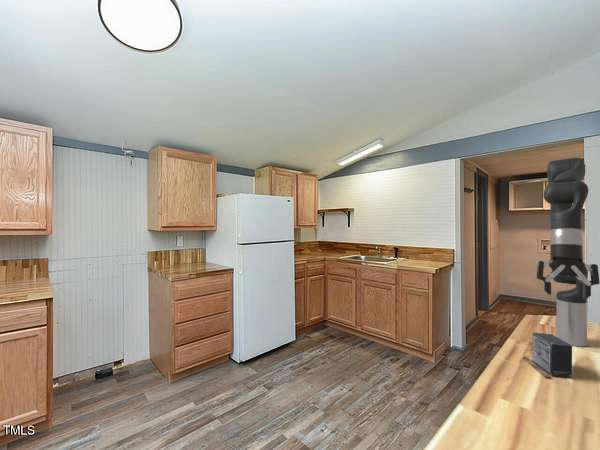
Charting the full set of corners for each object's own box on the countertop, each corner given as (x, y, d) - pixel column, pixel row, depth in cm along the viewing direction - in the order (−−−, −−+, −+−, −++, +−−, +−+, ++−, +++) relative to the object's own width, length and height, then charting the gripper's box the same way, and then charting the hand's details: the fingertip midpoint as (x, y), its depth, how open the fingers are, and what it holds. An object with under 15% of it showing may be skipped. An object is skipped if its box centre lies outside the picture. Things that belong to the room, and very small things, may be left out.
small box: (574, 378, 92) (574, 345, 92) (550, 376, 93) (550, 343, 93) (552, 363, 102) (552, 333, 102) (531, 361, 103) (531, 332, 103)
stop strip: (522, 358, 106) (522, 356, 106) (527, 358, 105) (527, 357, 105) (545, 378, 92) (545, 376, 92) (551, 378, 92) (551, 376, 92)
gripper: (592, 246, 91) (593, 298, 90) (534, 243, 99) (535, 292, 97) (601, 244, 85) (603, 300, 83) (539, 241, 92) (539, 293, 90)
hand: (566, 296), depth 90 cm, fingers open, 8 cm apart
